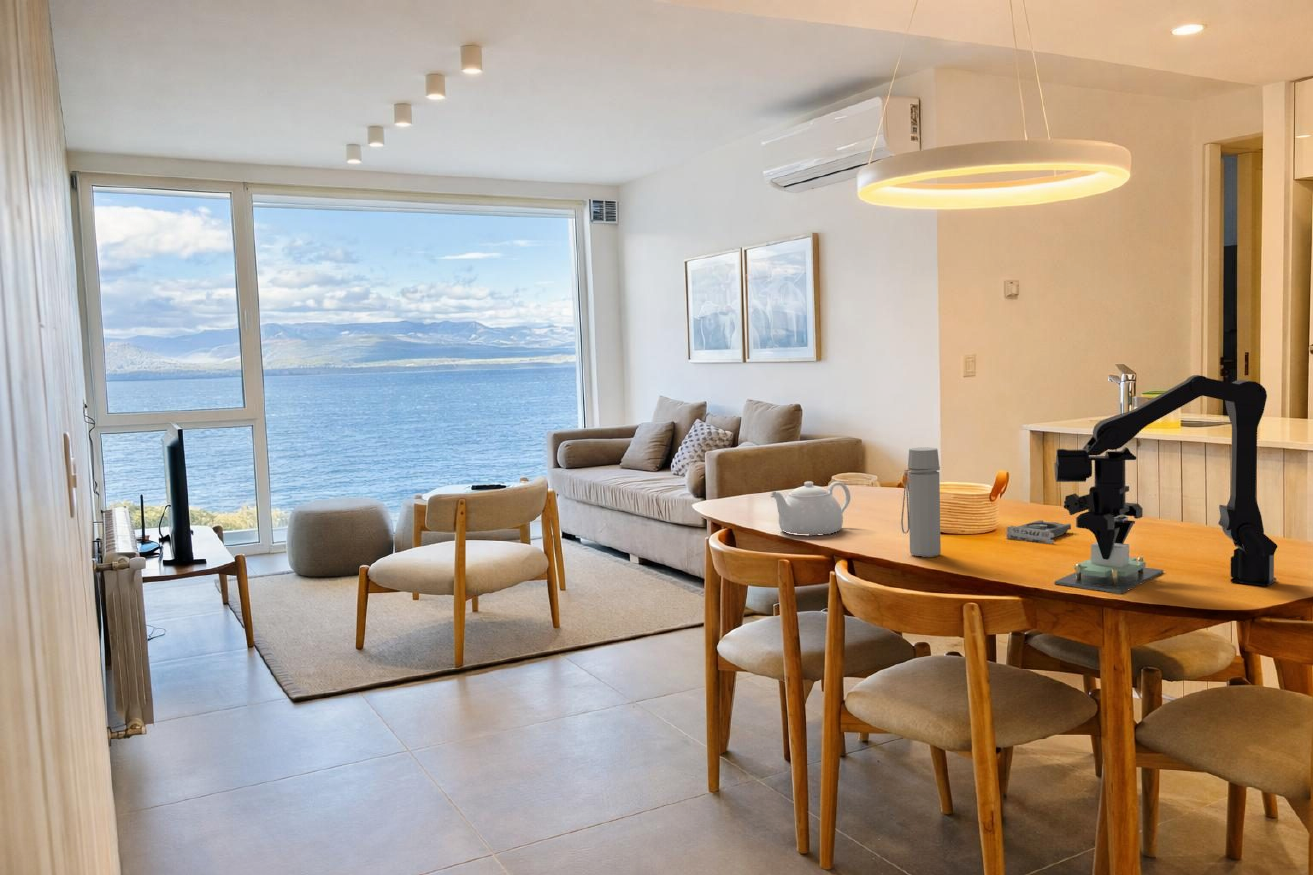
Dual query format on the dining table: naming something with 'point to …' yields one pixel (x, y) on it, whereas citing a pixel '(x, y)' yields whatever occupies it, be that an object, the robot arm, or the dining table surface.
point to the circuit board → (1109, 568)
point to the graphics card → (1037, 531)
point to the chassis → (1109, 579)
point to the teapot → (811, 509)
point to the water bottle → (923, 502)
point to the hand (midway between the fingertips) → (1110, 557)
